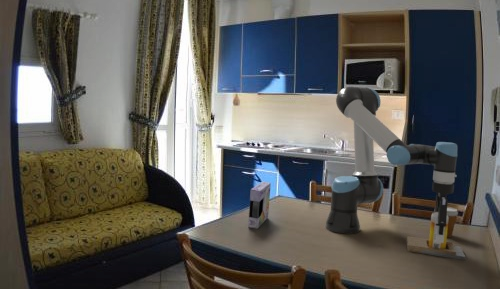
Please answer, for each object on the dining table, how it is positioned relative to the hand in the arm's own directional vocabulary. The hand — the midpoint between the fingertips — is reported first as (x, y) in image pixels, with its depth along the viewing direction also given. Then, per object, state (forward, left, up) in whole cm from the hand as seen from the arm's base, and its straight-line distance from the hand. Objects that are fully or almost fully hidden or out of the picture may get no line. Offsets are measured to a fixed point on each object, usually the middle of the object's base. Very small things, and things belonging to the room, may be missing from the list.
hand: (438, 238), depth 153 cm
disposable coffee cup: (+5, +24, -5) cm, 25 cm away
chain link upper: (-3, 0, -5) cm, 6 cm away
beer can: (0, 0, -5) cm, 5 cm away
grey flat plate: (+2, 0, -5) cm, 5 cm away
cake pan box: (-75, 0, -5) cm, 75 cm away
